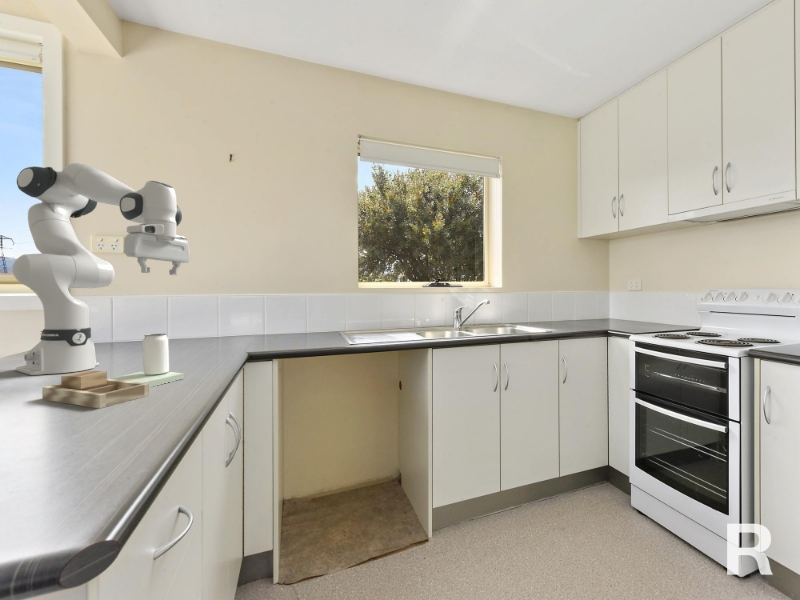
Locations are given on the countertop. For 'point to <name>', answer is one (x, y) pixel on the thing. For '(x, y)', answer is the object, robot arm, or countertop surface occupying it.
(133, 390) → the rack
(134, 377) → the board
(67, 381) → the offcut upper
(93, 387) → the offcut lower
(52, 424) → the countertop surface
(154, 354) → the can
